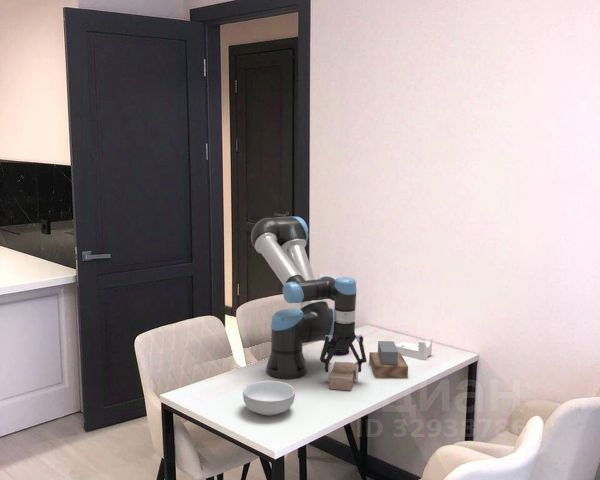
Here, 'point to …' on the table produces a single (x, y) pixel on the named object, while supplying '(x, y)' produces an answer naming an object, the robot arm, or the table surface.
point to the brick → (342, 376)
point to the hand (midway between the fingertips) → (342, 380)
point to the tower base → (388, 367)
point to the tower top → (387, 353)
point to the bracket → (416, 349)
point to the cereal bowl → (268, 397)
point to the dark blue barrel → (340, 350)
